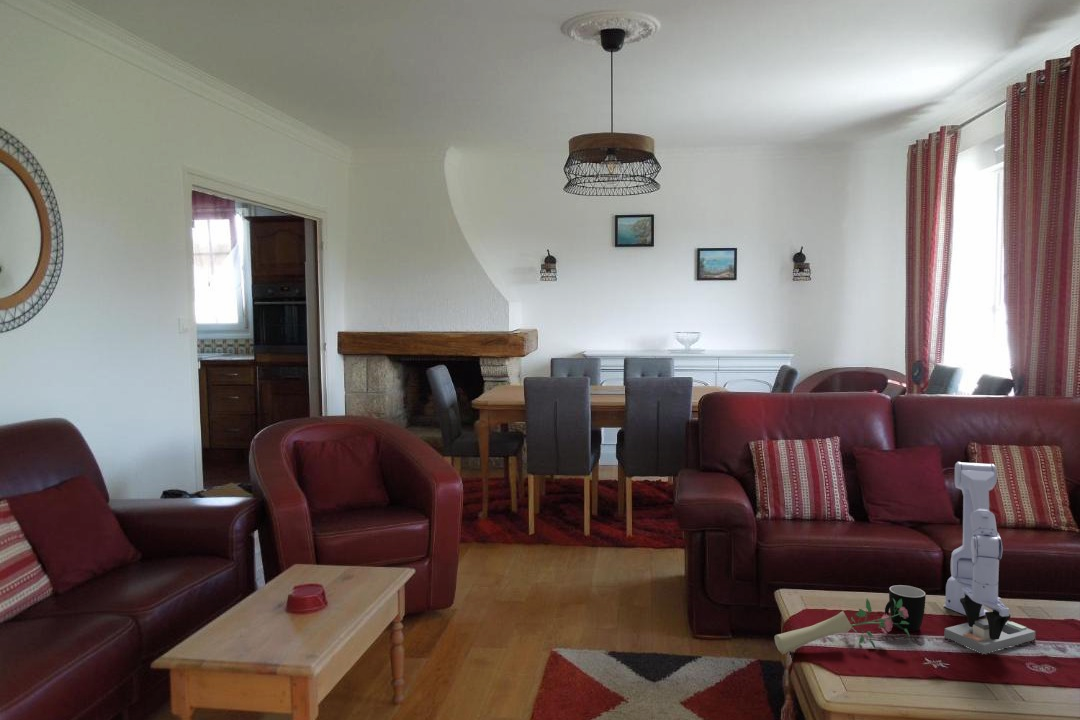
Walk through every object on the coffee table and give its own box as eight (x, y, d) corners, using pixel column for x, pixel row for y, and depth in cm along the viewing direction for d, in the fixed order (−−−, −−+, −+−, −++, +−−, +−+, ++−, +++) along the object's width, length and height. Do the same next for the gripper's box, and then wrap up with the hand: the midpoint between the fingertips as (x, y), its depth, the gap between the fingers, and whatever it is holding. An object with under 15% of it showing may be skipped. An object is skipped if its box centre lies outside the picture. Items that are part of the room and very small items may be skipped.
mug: (905, 618, 209) (906, 583, 208) (932, 630, 200) (933, 594, 200) (872, 624, 204) (873, 589, 204) (898, 637, 196) (899, 600, 195)
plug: (972, 642, 193) (973, 620, 193) (983, 641, 194) (984, 618, 193) (983, 648, 189) (984, 625, 189) (995, 647, 190) (995, 624, 190)
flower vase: (780, 674, 192) (896, 633, 198) (802, 683, 180) (925, 639, 186) (765, 629, 194) (880, 589, 200) (786, 634, 182) (907, 592, 189)
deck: (944, 637, 196) (944, 626, 196) (994, 624, 204) (995, 614, 204) (983, 654, 186) (983, 643, 186) (1035, 640, 194) (1035, 629, 194)
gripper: (1021, 590, 184) (1019, 643, 185) (979, 570, 198) (977, 620, 199) (995, 592, 183) (993, 645, 184) (955, 572, 197) (953, 621, 198)
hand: (983, 632), depth 191 cm, fingers open, 7 cm apart
